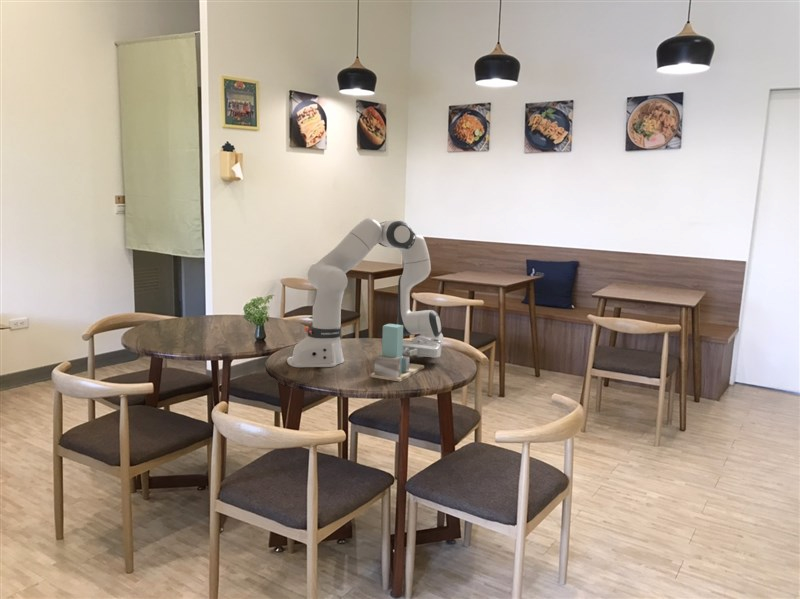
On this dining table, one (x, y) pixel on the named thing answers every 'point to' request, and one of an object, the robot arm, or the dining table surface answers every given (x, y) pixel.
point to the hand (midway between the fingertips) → (407, 353)
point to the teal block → (393, 341)
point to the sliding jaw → (405, 364)
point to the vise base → (404, 374)
